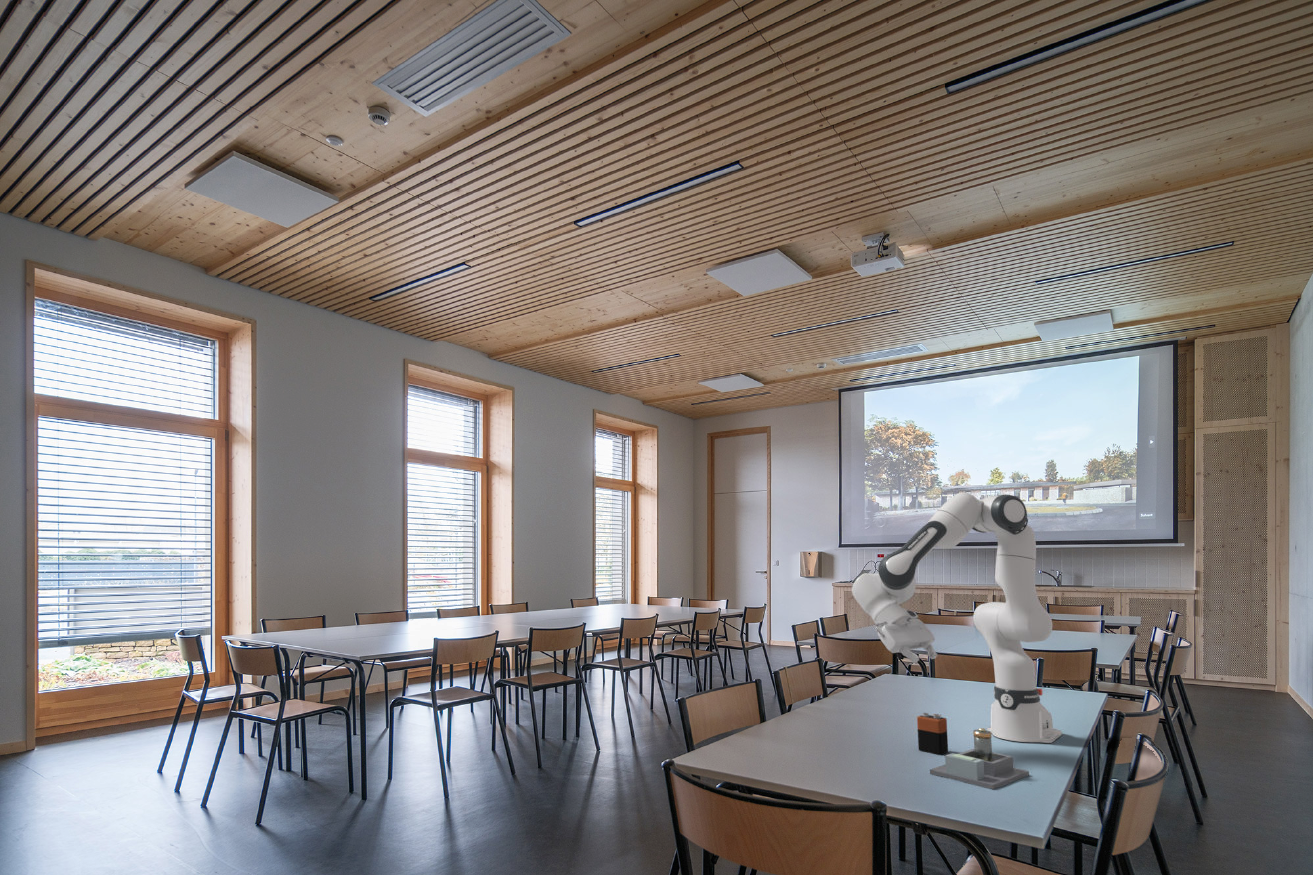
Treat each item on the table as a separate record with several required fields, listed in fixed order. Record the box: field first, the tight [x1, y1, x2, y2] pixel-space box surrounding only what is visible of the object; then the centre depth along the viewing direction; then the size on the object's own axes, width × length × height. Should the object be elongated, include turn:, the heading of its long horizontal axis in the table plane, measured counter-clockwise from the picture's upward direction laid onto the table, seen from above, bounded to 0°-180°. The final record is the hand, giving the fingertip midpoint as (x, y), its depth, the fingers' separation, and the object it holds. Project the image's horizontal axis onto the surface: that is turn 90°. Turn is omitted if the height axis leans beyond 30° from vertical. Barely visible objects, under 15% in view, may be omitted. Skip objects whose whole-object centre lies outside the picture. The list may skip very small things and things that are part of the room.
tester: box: [929, 748, 1030, 790], centre depth 187 cm, size 18×16×5 cm
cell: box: [973, 727, 993, 762], centre depth 189 cm, size 4×4×9 cm
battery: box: [916, 712, 949, 755], centre depth 209 cm, size 4×7×10 cm, turn 42°
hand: (925, 659), depth 212 cm, fingers open, 8 cm apart
